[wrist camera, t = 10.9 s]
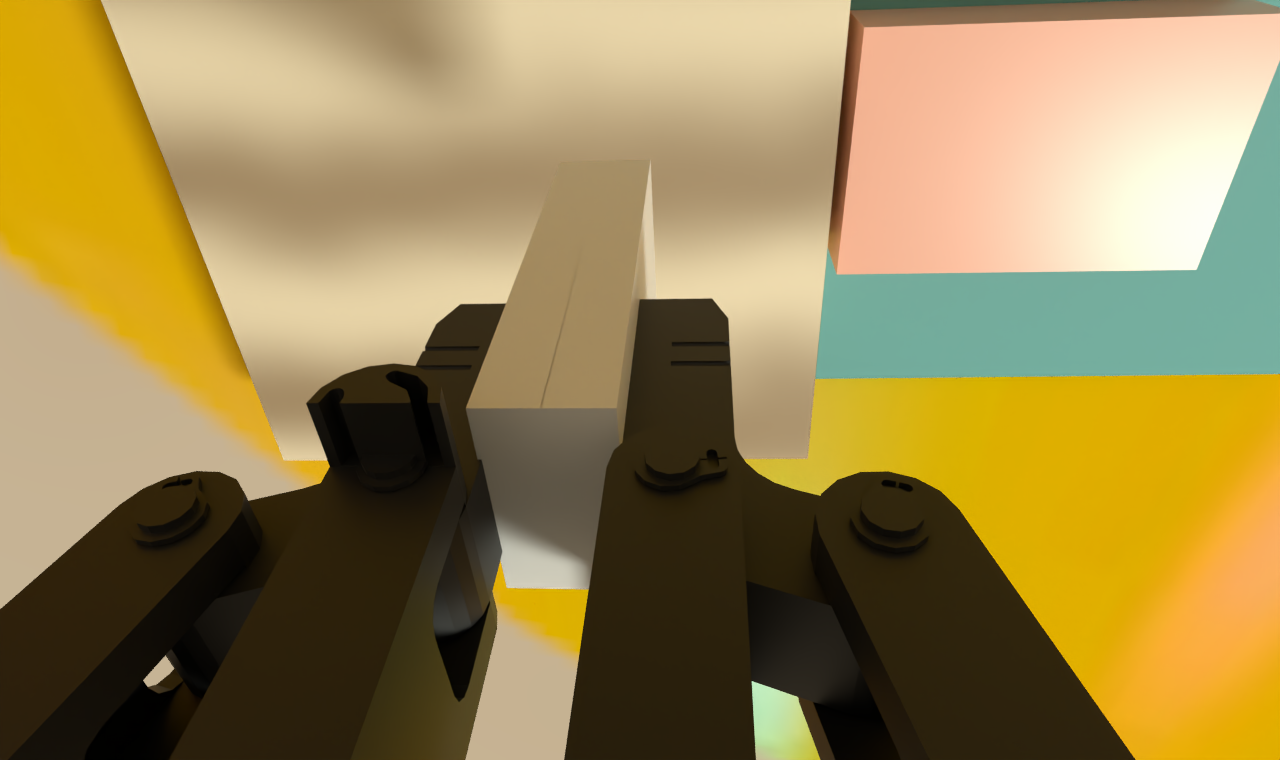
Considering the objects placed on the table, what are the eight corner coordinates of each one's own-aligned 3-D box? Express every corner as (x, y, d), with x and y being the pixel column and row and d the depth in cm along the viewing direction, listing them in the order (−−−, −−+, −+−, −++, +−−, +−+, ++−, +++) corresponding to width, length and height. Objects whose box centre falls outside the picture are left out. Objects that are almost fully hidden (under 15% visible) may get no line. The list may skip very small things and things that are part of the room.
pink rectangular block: (825, 241, 22) (836, 274, 21) (848, 10, 19) (864, 27, 17) (1157, 236, 22) (1195, 269, 20) (1243, -4, 18) (1298, 13, 17)
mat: (874, -277, 16) (877, -278, 16) (1618, -326, 15) (1634, -329, 15) (814, 373, 25) (815, 378, 25) (1277, 368, 24) (1282, 373, 24)
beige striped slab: (84, -284, 17) (-21, -305, 14) (855, -340, 16) (885, -373, 13) (321, 402, 27) (284, 460, 24) (796, 398, 26) (807, 458, 23)
